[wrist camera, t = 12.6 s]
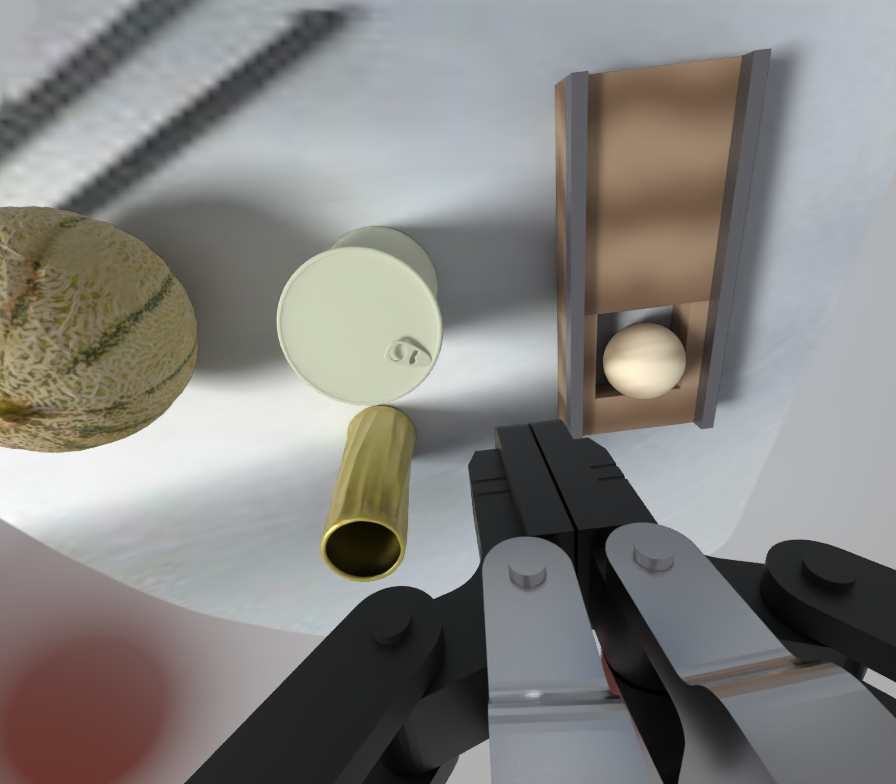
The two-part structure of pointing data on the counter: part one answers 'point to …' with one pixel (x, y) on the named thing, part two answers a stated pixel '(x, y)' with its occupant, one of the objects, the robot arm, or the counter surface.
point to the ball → (644, 360)
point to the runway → (652, 224)
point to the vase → (371, 497)
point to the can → (363, 318)
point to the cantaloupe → (86, 332)
